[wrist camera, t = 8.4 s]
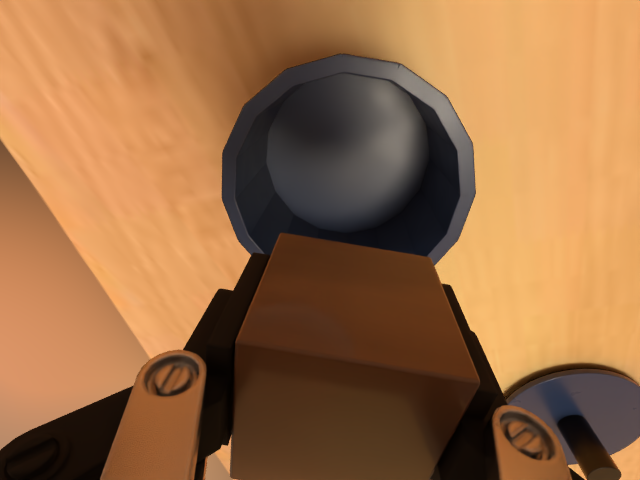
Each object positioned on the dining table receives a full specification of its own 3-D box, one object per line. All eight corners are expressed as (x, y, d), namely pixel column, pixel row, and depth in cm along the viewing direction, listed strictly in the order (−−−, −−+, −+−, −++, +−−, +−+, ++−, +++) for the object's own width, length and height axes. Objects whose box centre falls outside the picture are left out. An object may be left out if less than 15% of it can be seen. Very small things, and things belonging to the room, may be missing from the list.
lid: (526, 352, 34) (562, 411, 28) (675, 377, 34) (741, 441, 28) (474, 442, 40) (493, 504, 35) (597, 463, 40) (637, 529, 35)
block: (280, 230, 10) (234, 340, 6) (431, 256, 10) (482, 382, 6) (268, 343, 12) (228, 479, 8) (394, 364, 12) (414, 511, 8)
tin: (265, 42, 23) (223, 33, 16) (464, 75, 23) (518, 82, 16) (253, 223, 30) (220, 278, 22) (410, 249, 30) (430, 314, 22)
